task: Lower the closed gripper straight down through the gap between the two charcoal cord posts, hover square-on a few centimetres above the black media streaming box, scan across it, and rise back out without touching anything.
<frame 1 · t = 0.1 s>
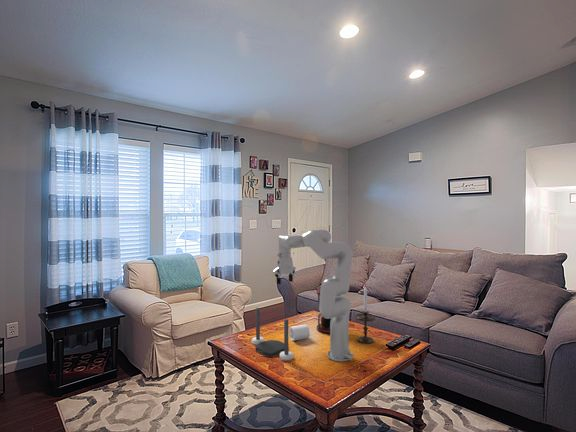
hand: (284, 282, 212), 31 cm above the table, tool pointing down, fingers open, 9 cm apart
candlestick: (365, 341, 199), on the table
hourglass: (329, 329, 217), on the table
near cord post: (286, 357, 177), on the table
media streaming box: (271, 350, 187), on the table
far cord post: (258, 342, 197), on the table
mug: (297, 338, 204), on the table
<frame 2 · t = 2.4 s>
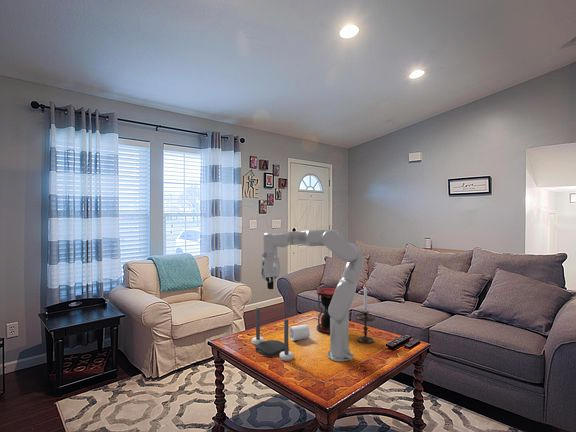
hand: (270, 288, 186), 34 cm above the table, tool pointing down, fingers closed
nothing on the table moved.
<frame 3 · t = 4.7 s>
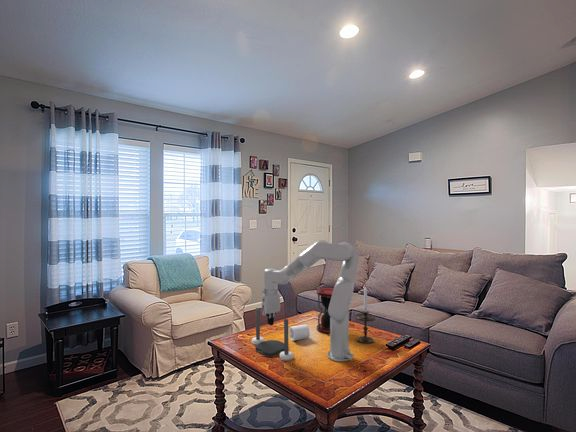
hand: (270, 324, 187), 14 cm above the table, tool pointing down, fingers closed
nothing on the table moved.
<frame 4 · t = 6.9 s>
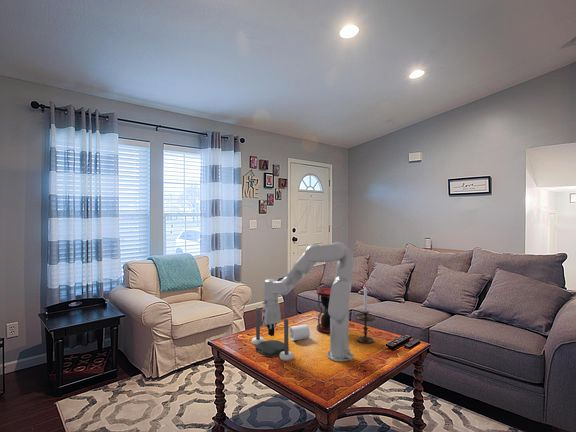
hand: (271, 335, 187), 8 cm above the table, tool pointing down, fingers closed
nothing on the table moved.
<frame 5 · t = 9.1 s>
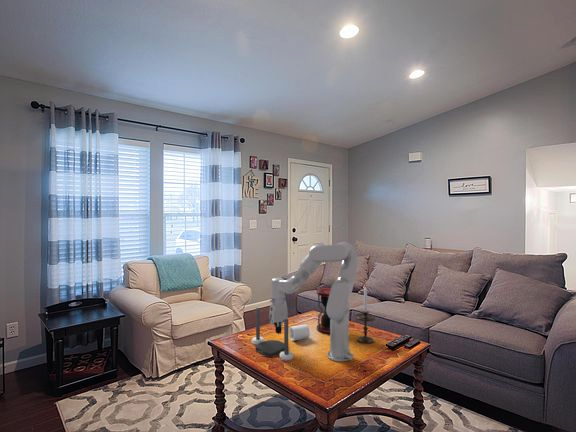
hand: (278, 332, 190), 8 cm above the table, tool pointing down, fingers closed
nothing on the table moved.
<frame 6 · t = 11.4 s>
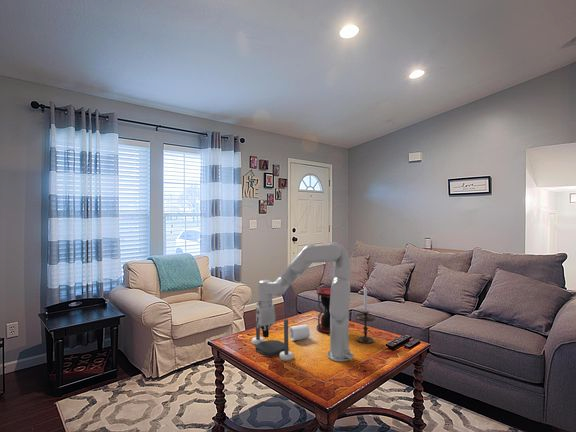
hand: (265, 336, 185), 8 cm above the table, tool pointing down, fingers closed
nothing on the table moved.
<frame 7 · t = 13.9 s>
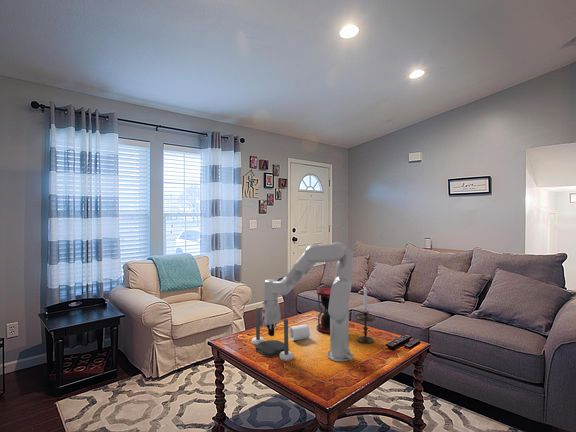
hand: (271, 335, 187), 8 cm above the table, tool pointing down, fingers closed
nothing on the table moved.
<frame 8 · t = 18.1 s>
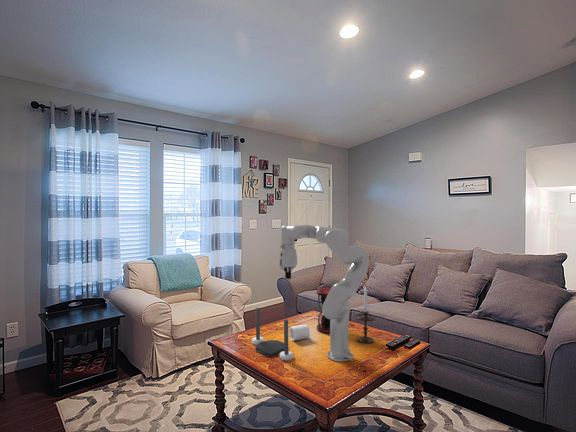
hand: (288, 278, 196), 37 cm above the table, tool pointing down, fingers closed
nothing on the table moved.
at the end: media streaming box moved 0.6 cm from its start; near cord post moved 0.0 cm from its start; far cord post moved 0.0 cm from its start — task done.
